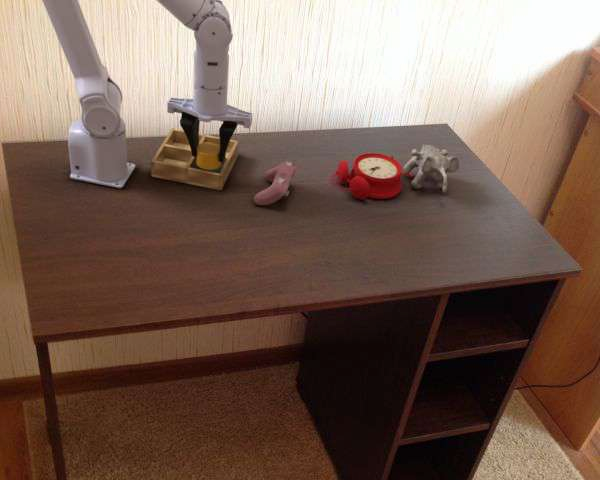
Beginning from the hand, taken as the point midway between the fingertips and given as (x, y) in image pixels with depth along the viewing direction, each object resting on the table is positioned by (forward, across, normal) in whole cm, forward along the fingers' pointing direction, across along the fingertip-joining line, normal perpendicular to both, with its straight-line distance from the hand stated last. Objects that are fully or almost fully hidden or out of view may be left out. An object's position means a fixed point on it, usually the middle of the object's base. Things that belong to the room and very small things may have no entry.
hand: (208, 156), depth 135 cm
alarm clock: (+4, +29, +8) cm, 30 cm away
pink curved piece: (+4, +13, -1) cm, 14 cm away
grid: (+4, -3, +3) cm, 6 cm away
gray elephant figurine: (+4, +41, +12) cm, 43 cm away
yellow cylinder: (+1, 0, 0) cm, 1 cm away
